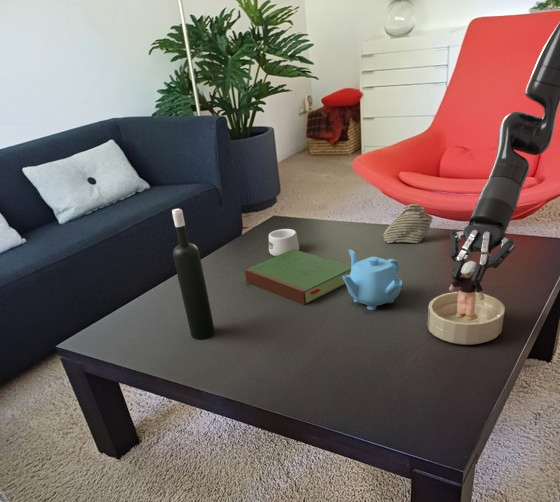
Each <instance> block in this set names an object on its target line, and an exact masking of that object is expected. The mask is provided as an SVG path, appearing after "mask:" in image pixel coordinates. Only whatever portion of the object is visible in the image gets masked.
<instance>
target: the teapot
mask: <svg viewBox="0 0 560 502" xmlns="http://www.w3.org/2000/svg"><path fill="white" fill-rule="evenodd" d="M347 253H349V256H350V260H351V261H350V262H351V263H350V266H351V273H350V276H349V275H345V276H343V277H342V278H343V280H344V282H345V284H346V285H345V286H346V288H347V292H348V293H349V295H350V296H351V298H352V299H353V302H354V303H360V304H362V305H366V309H367V310H369V311H375V310H376V309H377V306H381V305H384V304H393V303H394V302H395V300H396V299H397V297H399V295H400V293H401V291H402V290H401V286H402V285H403V281H402V279H401V278H400V277H399V275H398V272H399V271H398V270H399V262H398V261H397V260H396V259H395V258H388V259H385V258H382V257H378V256H369V257H367V258H364V259H362V260H359V258H358V256H357V254H356V252H355V251H354V250H352V249H350V248H349V249H347Z"/></svg>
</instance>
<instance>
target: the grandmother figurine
mask: <svg viewBox="0 0 560 502" xmlns="http://www.w3.org/2000/svg"><path fill="white" fill-rule="evenodd" d="M477 265H479V264H478V263H477V262H476V261H473V260H469V261H466V263H465V264H464V265H463V266H462V268H461V270H460V271H461V273H462V274H461V275H463V276H460V279H459V281H458V282H457V281H454V280H452V282H451V284H450V286H449V287H448V290H449V291H450V292H454V290H455V289H456V288H460V289H459V291H458V292H459V296H458V305H457V312H458V313H457V314H456V317H457V318H463V317H464V316H466V315H468V316H467V317H466V318H465V319H466V320H468V321H472V320H474V319H477V318H478V317H477V315H476V314H475V300H476V294H475V292H477V293H478V295H479V299H480V300H483V299H484V296H483V294H484V289H483V287H482V285H481V282H480V283H478V284H477V285H473V284H472V283H471V280H472V277H473V275H474V272H475V270H476V267H477Z"/></svg>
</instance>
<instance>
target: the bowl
mask: <svg viewBox="0 0 560 502" xmlns="http://www.w3.org/2000/svg"><path fill="white" fill-rule="evenodd" d="M475 294H476V300H475V314H476V315H477V317H478V318H477V319H474V320H472V321H468V320H466V319H465V318H466V317H467V316H468V315H466V316H464V317H463V318H457V317H456V314H457V313H458V312H457V305H458V296H459V291H450V292H446V293H443V294H440V295H438V296H435V297H434V298H433V299H432V300H430V302H429V304H428V307H427V328H428V331H429V332H430V333H431V334H432V335H433V336H434V337H436V338H439V340H442V341H445V342H448V343H451V344H455V345H465V346H468V345H469V346H470V345H471V346H472V345H480V344H483V343H486V342H487V343H488V342H491V341H492V340H494V339H497V338H498V337H499V336H500V334H501V333H502V331H503V323H504V316H505V312H506V311H505V310H506V307H505V305H504V304H503V302H502V301H500V300H499V299H498V298H497V297H495V296H491V295H489V294H486V293H483V296H484V299H483V300H480V299H479V295H478V293H477V291H475Z"/></svg>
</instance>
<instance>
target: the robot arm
mask: <svg viewBox="0 0 560 502" xmlns="http://www.w3.org/2000/svg"><path fill="white" fill-rule="evenodd" d="M524 95H525V97H526V98H527V99H528V100H530V101H532V102H534V103H536V104H538V105H539V106H540V107H541V108H542V111H543V113H542V114H543V115H542V116H538V115H534V114H531V113H527V112H522V111H519V110H517V111H516V110H515V111H512V112H510V113H508V114H507V115H506V116H505V117H504V118H503V120H502V121H501V124H500V126H499V130H498V136H497V150H496V155H495V160H494V162H493V166H492V169H491V170H490V173H489V175H488V178H487V181H486V183H485V185H484V186H483V188H482V190H481V192H480V194H479V196H478V199H477V202H476V204H475V206H474V208H473V212H472V214H471V216H470V219H469V221H468V224H467V225H466V227H464V228H463V230H459V231H456V230H455V229H454V230H451V231H450V232H449V256H450V258H451V259H452V261H453V262H455V263H454V266H453V268H452V270H451V277H452V279H453V280H452V281H457V282H458V281H459V279H460V277H462V275H463V274H462V273H461V271H460V270H461V268H462V266H463V265H464V264H465V263H467V262H468V260H469V259H470V257H472V256H473V254H474V253H475V252H479V253H480V259H479V264H478V265H477V267H476V270H475V272H474V275H473V277H472V280H471V283H472V284H473V285H477V284H478V283H480V284H481V283H482V281H483V278H484V276H485V273H486V271H487V270H488V269H497V268H498V267H499V266H500V265H501V264H502V263H503V262H504V261H505V260H506V258H508V256H509V255H510V254H511V253H513V251H514V250H515V249H516V244H515V241H514V240H513V239H512V238H507V237H506V231H507V229H508V227H509V224H510V222H511V219H512V217H513V215H514V212H515V210H516V209H517V206H518V202H519V199H520V196H521V192H522V189H523V187H524V184H525V182H526V179H527V177H528V175H529V172H530V167H531V165H530V162H529V160H528V159H526V158H525V157H524V156H522V155H521V154H519V153H518V152H520V153H523V154H527V155H530V156H540V155H541V154H543V153H544V152H545V151H546V150H548V148H549V147H550V145H551V143H552V140H553V137H554V132H555V126H556V119H557V114H558V111H559V106H560V21H559V22H558V24H557V25H556V26H555V28H554V30H553V32H552V33H551V35H550V36H549V38H548V39H547V42H546V43H545V44H544V46H543V48H542V51H541V52H540V55H539V57H538V59H537V61H536V64H535V66H534V68H533V71H532V73H531V75H530V79H529V80H528V82H527V85H526V88H525V90H524ZM463 238H464V241H465V242H464V244H463V245H462V247H461V250H460V252H459V244H460V243H461V241H462V239H463ZM499 245H500V248H499V249H498V251H496V252H495V254H494V255H493V256H492V252H493V250H494V249H495V248H497V247H498V246H499Z"/></svg>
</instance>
